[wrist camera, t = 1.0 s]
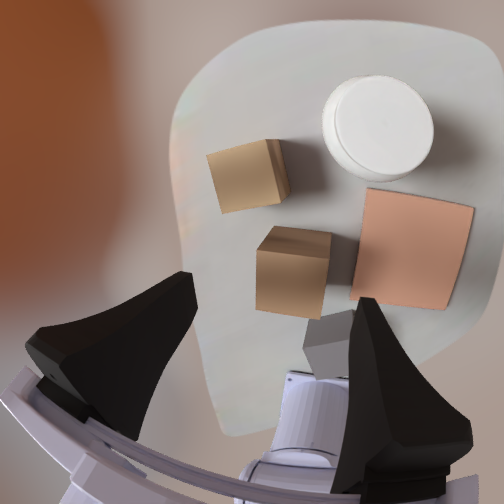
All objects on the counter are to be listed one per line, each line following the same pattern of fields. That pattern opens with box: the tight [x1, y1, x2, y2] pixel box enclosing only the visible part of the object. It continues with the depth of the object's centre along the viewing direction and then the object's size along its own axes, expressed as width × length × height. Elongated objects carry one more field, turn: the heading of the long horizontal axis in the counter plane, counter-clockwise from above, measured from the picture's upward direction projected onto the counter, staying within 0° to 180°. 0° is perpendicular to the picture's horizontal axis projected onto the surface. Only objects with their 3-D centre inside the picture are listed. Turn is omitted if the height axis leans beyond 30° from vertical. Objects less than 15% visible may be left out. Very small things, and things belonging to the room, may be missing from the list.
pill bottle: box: [322, 75, 434, 182], centre depth 13 cm, size 5×5×10 cm
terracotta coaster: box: [350, 188, 474, 310], centre depth 19 cm, size 9×9×1 cm
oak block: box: [206, 139, 291, 214], centre depth 19 cm, size 4×4×4 cm
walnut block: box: [256, 226, 332, 320], centre depth 20 cm, size 4×4×5 cm
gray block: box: [303, 310, 354, 381], centre depth 22 cm, size 4×4×4 cm
